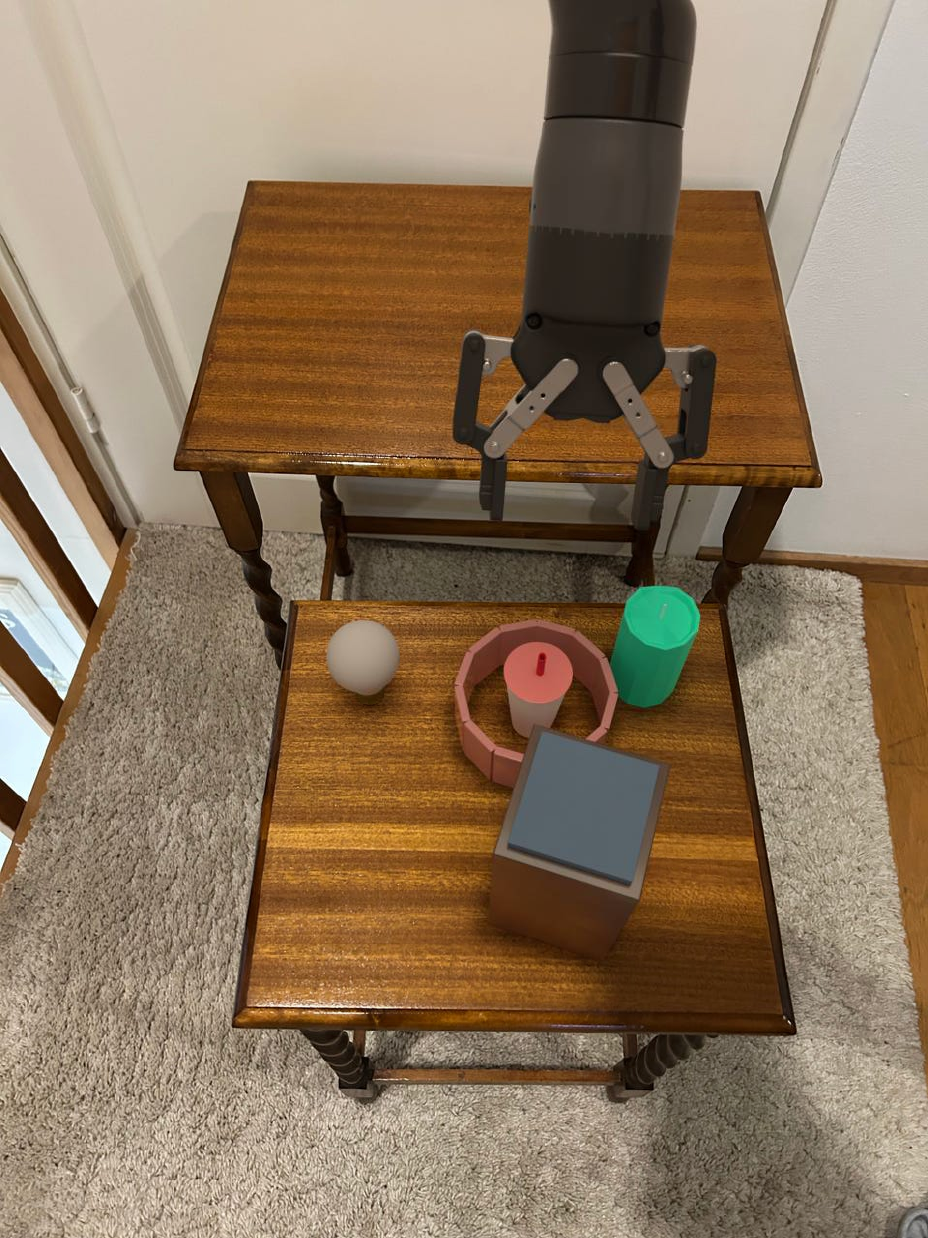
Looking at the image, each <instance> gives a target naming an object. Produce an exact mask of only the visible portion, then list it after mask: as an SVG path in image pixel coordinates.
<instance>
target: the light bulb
mask: <svg viewBox="0 0 928 1238" xmlns="http://www.w3.org/2000/svg"><path fill="white" fill-rule="evenodd" d="M400 658H401V654H400V648H399V643H398V642H397V640H396V637H395V636H394V635H393V633H392V632H391V631H390V630H389V628H387V627H385V626H384V625H383V624H381V623H379V622H377V621H374V620H369V619H358V620H353V621H350V622H348V623H345V624H344V625H342V626H341V627H340V628H338V630H336V631H335V632H334V634H333V635H332V637H330V640H329V642H328V645H327V647H326V665H327V668H328V671H329V673H330V675H331V677H332V679H333V680H334V681H335V682H336V683H337V684H338V685H340V686H341V687H342V688H344V689H346V690H347V691H350V692H353V693H354V694H355V697H356V699H357V700H358V701H359V702H360V703H362V704H365V705H374V704H377V703H379V702H380V701H381V700H382V699H383V698H384V697H385V695H386V686H387V685H388V684H389V683H390V682H391V681H392V680H393V678H394V677H395V676H396V674H397V671H398V669H399V665H400V660H401V659H400Z"/></svg>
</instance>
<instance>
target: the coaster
mask: <svg viewBox="0 0 928 1238" xmlns="http://www.w3.org/2000/svg"><path fill="white" fill-rule="evenodd" d="M659 768H660V766H659V765H656V764H652V763H649V762H646V761H642V760H639V759H635V758H632V757H629V756H625V755H622V754H618V753H615V752H612V751H608V750H605V749H601V748H598V747H595V746H591V745H588V744H584V743H581V742H578V741H574V740H571V739H567V738H564V737H561V736H557V735H554V734H550V733H547V732H544V731H542V733H541V736H540V739H539V742H538V746H537V749H536V752H535V755H534V759H533V762H532V765H531V768H530V771H529V775H528V778H527V781H526V784H525V788H524V791H523V794H522V797H521V801H520V804H519V807H518V810H517V813H516V817H515V820H514V823H513V826H512V830H511V833H510V836H509V839H508V844H507V846H508V847H511V848H514V849H517V850H521V851H524V852H527V853H530V854H533V855H536V856H540V857H543V858H546V859H549V860H552V861H555V862H558V863H562V864H565V865H568V866H571V867H574V868H577V869H580V870H584V871H587V872H590V873H593V874H596V875H599V876H603V877H606V878H609V879H612V880H615V881H618V882H621V883H625V884H628V885H631V884H632V882H633V879H634V875H635V870H636V866H637V862H638V857H639V853H640V849H641V845H642V840H643V836H644V832H645V828H646V823H647V819H648V815H649V810H650V806H651V802H652V798H653V793H654V789H655V785H656V781H657V776H658V772H659Z"/></svg>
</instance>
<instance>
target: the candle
mask: <svg viewBox="0 0 928 1238" xmlns="http://www.w3.org/2000/svg"><path fill="white" fill-rule="evenodd" d="M700 621H701V613H700V611H699V609H698V607H697V604H696V602H695V599H694V598H693V597H692V596H690V595H689V594H687V593H686V592H685V591H683V590H682V589H680V588H679V587H677V586H665V585H649V586H641V587H639V588H638V589H637V590H636V591H635V592H634V593H633V594H632V595H631V596H630V597H629V598H628V599H626V603H625V605H624V610H623V614H622V618H621V621H620V625H619V629H618V632H617V636H616V640H615V643H614V647H613V651H612V654H611V657H610V662H609V665H610V668H611V671H612V674H613V677H614V680H615V683H616V686H617V689H618V693H617V694H618V698H619V699H620V700H622V701H623V702H624V703H625V704H627V705H632V706H635V707H639V708H643V709H645V708H649V707H654V706H657V705H661V704H662V703H664V702H665V700H667V699H668V698H669V697H670V695H671V694H673V692H674V689H675V688H676V685H677V683H678V680H679V678H680V675H681V673H682V670H683V668H684V666H685V663H686V661H687V658H688V656H689V653H690V651H691V649H692V646H693V644H694V642H695V640H696V637H697V635H698V632H699V628H700V627H699V626H700Z"/></svg>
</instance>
